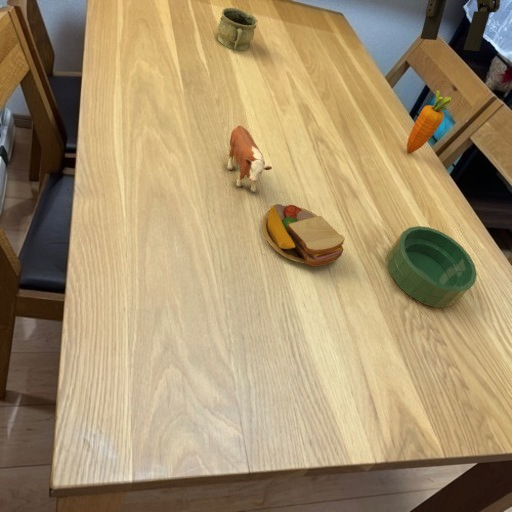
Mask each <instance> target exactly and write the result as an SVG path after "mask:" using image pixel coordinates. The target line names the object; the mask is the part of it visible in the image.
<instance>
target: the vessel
mask: <svg viewBox="0 0 512 512" xmlns="http://www.w3.org/2000/svg"><path fill="white" fill-rule="evenodd" d="M257 24H258V19H257V18H256V17H255V16H254V15H253V14H251V13H250V12H248V11H246V10H244V9H240V8H236V7H225V8H223V9H222V11H221V15H220V21H219V23H218V25H217V30H218V32H219V33H218V36H217V39H218V41H219V42H220V43H221V44H222V45H223V46H225V47H226V48H229V49H231V50H234V51H244V50H247V49H248V48H249V43H250V42H251V41H252V40H253V39H254V36H255V29H256V28H257Z"/></svg>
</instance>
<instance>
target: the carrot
mask: <svg viewBox="0 0 512 512" xmlns="http://www.w3.org/2000/svg"><path fill="white" fill-rule="evenodd" d="M440 91H441V90H436V93H435V99H434V104H433V105H424V107H423V108H422V110H421V111H420V113H419V115H418V116H417V118H416V120H415V122H414V124H413V127H412V128H411V130H410V133H409V136H408V139H407V144H406V153H407V154H408V155H409V154H412V153H414V152H416V151H418V150H419V149H421V148H422V147H423V146H425V144H426V143H428V141H430V139H431V138H432V137H433V136H434V134H435V132H437V130H438V128H439V127H440V126H441V124H443V121H444V118H445V113H444V112H443V110H444V111H445V110H448V109H449V108H448V106H446V105H448V104H450V103H451V102H452V101H453V100H452V97H451V96H446V97H444V98H443V96H440V95H441V92H440Z"/></svg>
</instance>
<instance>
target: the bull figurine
mask: <svg viewBox="0 0 512 512" xmlns="http://www.w3.org/2000/svg"><path fill="white" fill-rule="evenodd" d="M227 154H228V157H229V160H228V162H227V167H226V169H227V170H229V171H233V169H234V166H233V159H234V160H235V162H236V163H237V164H238V166H239V167H240V171H239V172H240V173H239V178H238V179H236V184H235V187H237V188H241V187H242V184H243V180H244V179H245V177H247V179H248V181H250V182H251V185H250V190H249V191H250V192H251V193H256V191H257V189H256V183H257V182H258V180H259V177H260V176H261V174H262V173H263V171H270V170H272V169H273V167H272V166H270V165H265V164H266V161H265V159H264V155H263V153H262V152H261V151H260V148H259V147H258V145H257V143H256V142H255V140H254V138H253V137H252V135H251V133H250V132H249V130H248V129H246V128H245V127H244V126H243V125H241V124H240V125H238V126H237V127H235V128H233V130H232V132H231V134H230V138H229V144H228V147H227Z"/></svg>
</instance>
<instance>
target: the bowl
mask: <svg viewBox="0 0 512 512" xmlns="http://www.w3.org/2000/svg"><path fill="white" fill-rule="evenodd" d="M386 266H387V268H388V271H389V273H390V276H391V277H392V279H393V280H394V282H395V283H396V284H397V285H398V287H399V288H400V289H401V290H402V291H404V292H405V293H406V294H407V295H408V296H410V297H411V298H412V299H414V300H416V301H418V302H420V303H421V304H423V305H428V306H430V307H434V308H447V307H450V306H453V305H455V304H456V303H458V301H459V300H460V299H461V298H462V297H463V296H464V295H465V294H466V293H467V292H468V291H469V290H470V289H471V288H472V287H473V286H474V285H475V284H476V280H477V276H478V274H477V268H476V264H475V262H474V261H473V259H472V257H471V255H470V254H469V253H468V252H467V250H465V248H464V247H463V246H462V245H461V244H460V243H459V242H458V241H456V240H455V239H453V237H451V236H449V235H448V234H446V233H444V232H442V231H440V230H438V229H436V228H432V227H429V226H421V225H417V226H411V227H408V228H406V229H405V230H404V231H402V232H401V234H400V235H399V236H398V238H397V239H396V241H395V242H394V244H392V246H391V248H390V249H389V251H388V254H387V256H386Z"/></svg>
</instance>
